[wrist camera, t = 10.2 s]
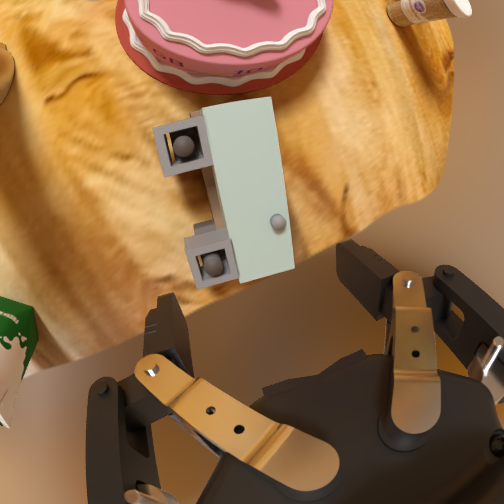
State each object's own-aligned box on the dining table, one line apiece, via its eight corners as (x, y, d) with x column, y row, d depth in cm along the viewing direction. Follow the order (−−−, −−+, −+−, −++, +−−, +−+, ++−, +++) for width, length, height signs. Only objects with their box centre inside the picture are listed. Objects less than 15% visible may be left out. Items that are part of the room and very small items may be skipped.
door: (154, 121, 23) (149, 120, 20) (261, 99, 25) (274, 95, 21) (197, 279, 32) (199, 299, 28) (284, 255, 33) (297, 272, 30)
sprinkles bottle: (380, 6, 24) (446, -14, 12) (396, 0, 23) (459, -17, 11) (397, 31, 26) (466, 19, 14) (411, 24, 25) (476, 13, 14)
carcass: (168, 119, 27) (163, 116, 20) (260, 100, 28) (282, 94, 22) (204, 262, 35) (210, 295, 29) (282, 241, 36) (304, 268, 30)
